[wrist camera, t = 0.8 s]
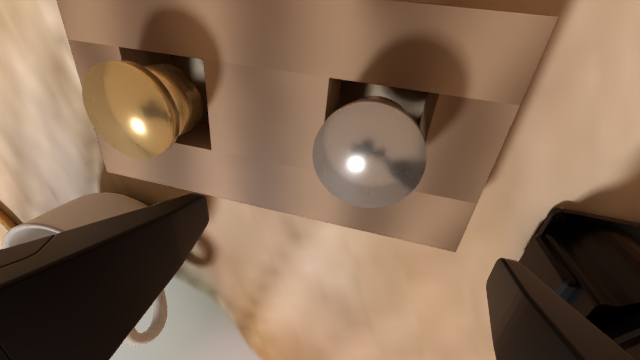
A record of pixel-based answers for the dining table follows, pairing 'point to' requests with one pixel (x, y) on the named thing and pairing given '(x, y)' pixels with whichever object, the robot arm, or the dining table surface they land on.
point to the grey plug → (370, 153)
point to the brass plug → (141, 106)
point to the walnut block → (322, 95)
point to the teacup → (80, 215)
